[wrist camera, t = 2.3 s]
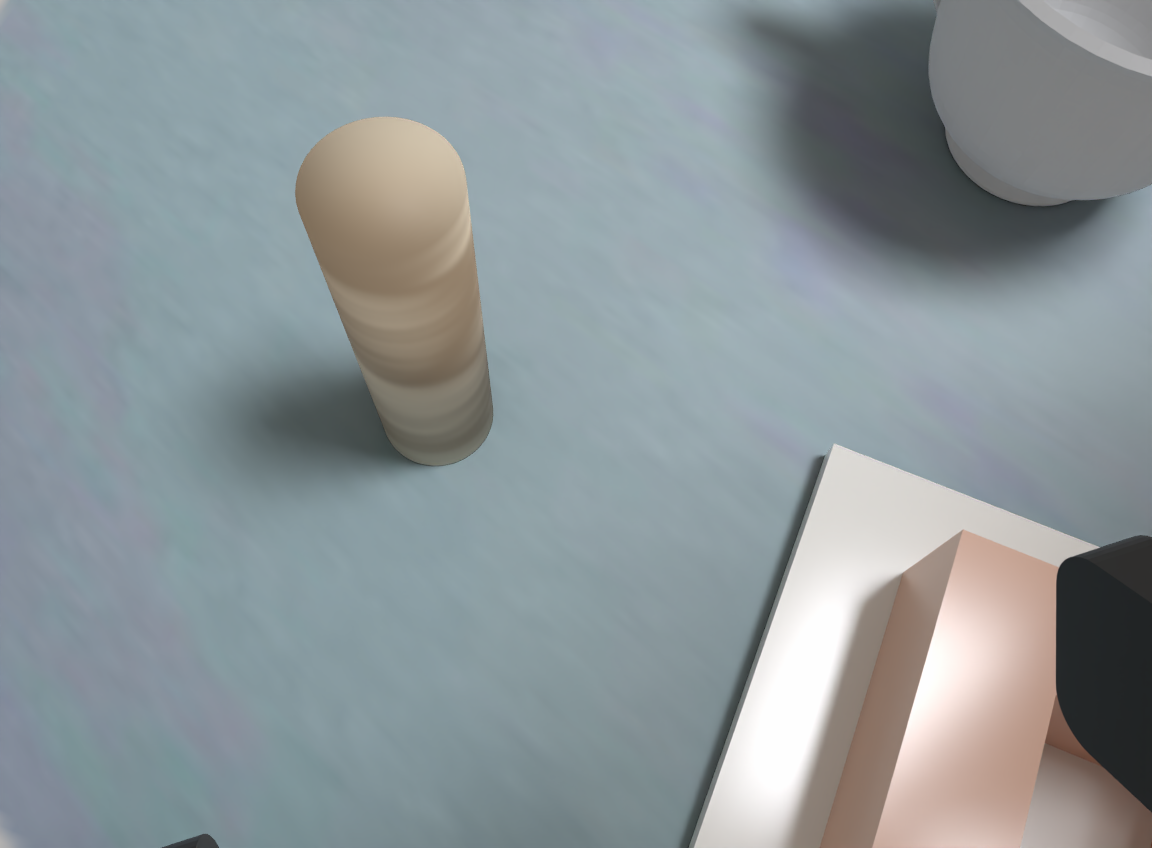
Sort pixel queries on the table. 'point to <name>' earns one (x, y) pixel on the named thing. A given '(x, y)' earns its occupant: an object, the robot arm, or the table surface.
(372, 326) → the peg
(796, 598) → the socket block
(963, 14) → the teacup
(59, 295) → the table surface
